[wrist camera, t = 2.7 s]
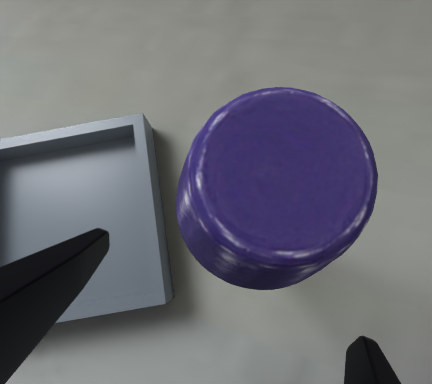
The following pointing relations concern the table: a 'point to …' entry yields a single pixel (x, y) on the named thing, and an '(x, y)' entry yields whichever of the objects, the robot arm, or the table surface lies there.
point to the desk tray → (90, 208)
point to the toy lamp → (275, 188)
